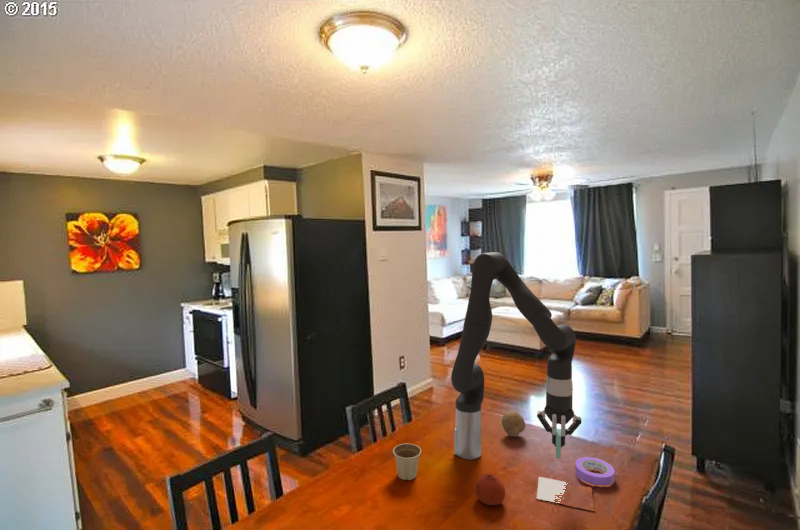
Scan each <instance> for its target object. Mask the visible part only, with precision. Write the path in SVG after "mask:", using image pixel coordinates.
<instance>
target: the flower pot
mask: <svg viewBox="0 0 800 530" xmlns="http://www.w3.org/2000/svg"><path fill="white" fill-rule="evenodd" d="M392 453H393V455H394V458H395V463H396V464H395V465H396V472H397V476H398V478H399V479H401V480H403V481H406V480H408V481H412V480H414V479H415V478H416V477H417V473H418V466H419V460H420V455H421V454H422V449H421V447H420V446H419V445H416V444H414V443H407V442H406V443H401V444H398V445H396V446H395V447H394V448H393V449H392Z"/></svg>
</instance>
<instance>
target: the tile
mask: <svg viewBox="0 0 800 530" xmlns="http://www.w3.org/2000/svg"><path fill="white" fill-rule="evenodd" d="M561 458H562V447H561V428H557V430H556V446H555V459H561Z"/></svg>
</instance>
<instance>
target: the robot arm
mask: <svg viewBox="0 0 800 530" xmlns="http://www.w3.org/2000/svg"><path fill="white" fill-rule="evenodd" d="M494 280H496V281H498V282H499V283H500V284H501V285H503V286H504V287H505V289H507V291H508V293H509V294H510V296H511V298H512V300H513V303H514V305H515V307H516V308H517V309H518V311H519V313H520V314H521V315H522V316H523V317H524V318H525V319H526V321H528V322H529V323H530V324H531V325H532V327H533V329H534V331H535V332H536V334H537V335H538V337H539V339H540V341H542V343H543V344H544V345H545V346H546V347H547V348H548V349H550V350H551V354H550V356H549V357H548V359H547V363H546V366H547V367H546V380H545V381H546V382H545V407H544V409H543V410H541V411H540V410H538V411H537V414H536V417H537V419H538V421H540V423H541V425H542V426H543V428H544V430H545V431H546V432H547V433H551V437H552V438H551V444H552V445H553V446H554V447H556V430H557V429H558V428H557V426H558V425H560V429H561V449H562V448H563V447H565V445H566V436H572V435H573V433H574V432H575V431H576V430H577V429H578V428H579V426H581V424H582V417H581V416H577V415H576V414H575V412H574V410H573V390H574V388H573V365H572V364H573V359H574V354H575V349H576V343H577V342H576V341H577V339H576V334H575V331H574V330H573V328H572V327H571V326H569V325H568V324H563V323H562V324H558V325H556V322H554V320H553V319H552V316H553V315H552V312H551V311H550V309H549V308H548V307H547V306H546V305H545V304H544V303H543V302H542V301H541V300H540V299H539V298H538V297H537V296H536V295H535V294H534V293H533V291H532V290H530V288H529V287H528V286H527V285H526V284H525V282H524V280H523V279H522V278H521V277H520V275H519V274H518V273H517V272H516V270H515V268H514V267H513V266H512V264H511V263H510V262H509V260H508V259H507V257H505V255H503V254H502V253H501V252H496V251H495V252H493V251H491V252H483V253H480V254H478V255H477V256H476V257H475V259H474V261H473V265H472V272H471V280H470V281H471V282H470V283H471V284H470V291H469V297H468V304H467V308H466V313H465V317H464V321H463V327H462V333H461V337H460V342H459V347H458V351H457V355H456V358H455V360H454V363H453V367H452V371H451V374H450V375H451V376H450V377H451V379H450V381H451V384H452V387H453V389H454V390H455V391H457V392H458V393H459V395H458V396H457V397H456V400H455V427H454V429H453V450H454V451H453V454H454V455H455V456H458V457H459V458H461V459H465V460H477V459H478V458H480V457H481V456H482V404H483V402H484V395H485V375H484V374H485V373H484V371H483V369H482V367H481V365H479V364H478V363H477V362H476V360H477V357H478V355H479V354H480V352H481V350H482V348H483V347H484V346H485V344H486V342H487V340H488V338H489V335H490V333H491V332H490V331H491V327H492V323H493V311H492V307H491V302H490V295H491V290H492V285H493V282H494ZM546 418H548V420H549V421H550V422H551V425H550V423H549V422H548V420H547V419H546ZM571 420H572V423H571V424H570V425H569V427H567V428H566V425H567V424H568V423H570V421H571Z"/></svg>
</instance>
